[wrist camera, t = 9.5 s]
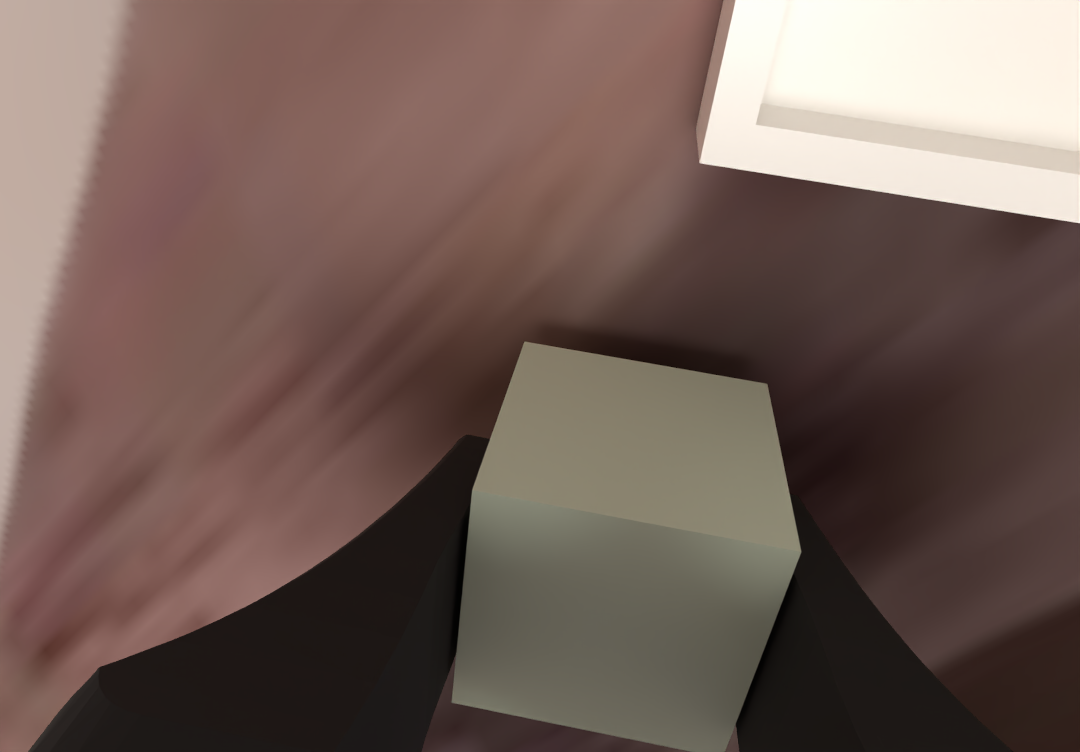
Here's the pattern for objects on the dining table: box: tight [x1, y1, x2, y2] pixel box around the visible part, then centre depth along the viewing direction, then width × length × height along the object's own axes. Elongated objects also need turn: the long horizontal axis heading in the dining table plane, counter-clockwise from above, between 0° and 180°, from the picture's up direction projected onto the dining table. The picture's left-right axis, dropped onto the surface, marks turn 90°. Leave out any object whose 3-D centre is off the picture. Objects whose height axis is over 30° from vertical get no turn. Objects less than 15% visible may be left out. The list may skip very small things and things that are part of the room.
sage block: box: [452, 341, 801, 752], centre depth 12 cm, size 4×4×4 cm
